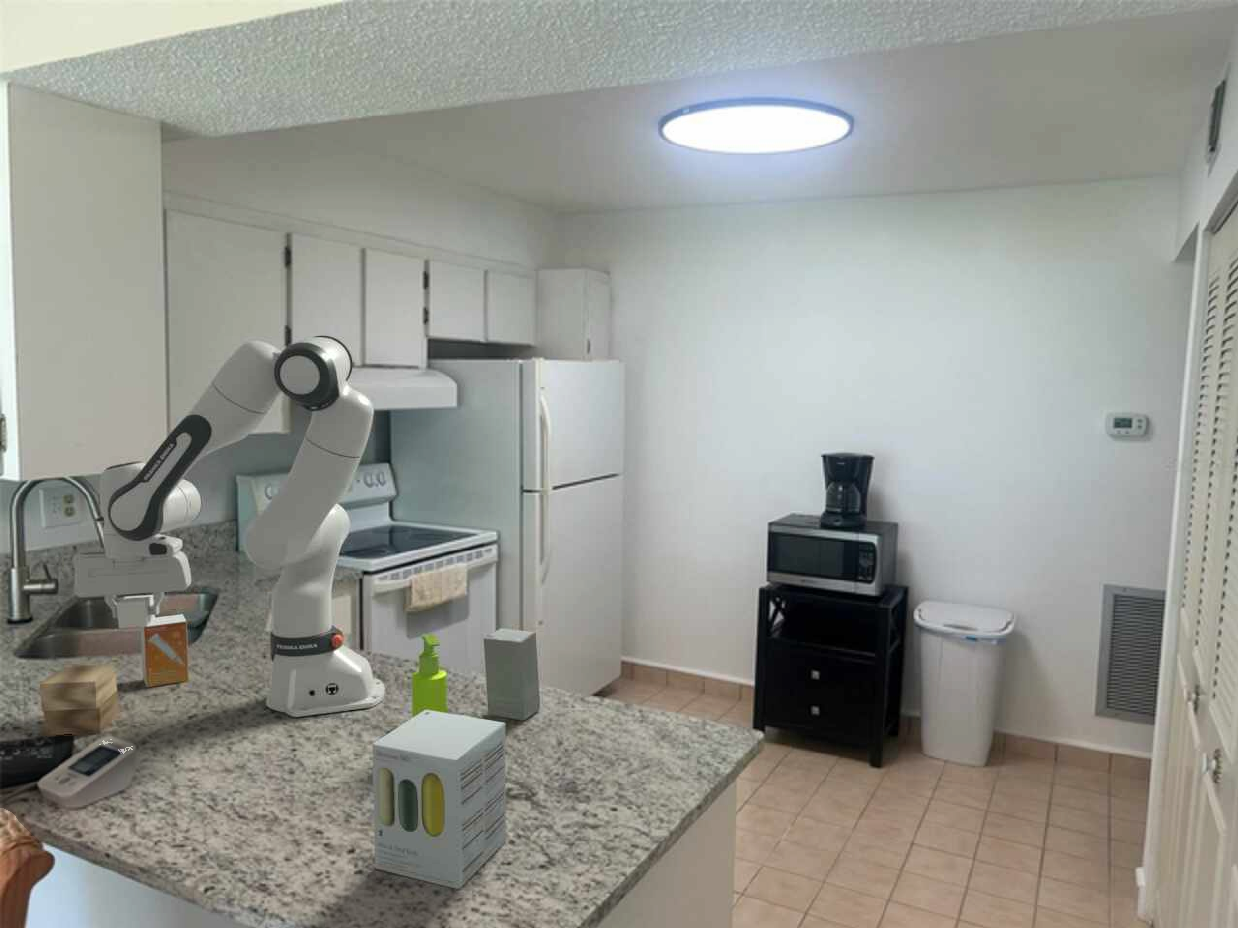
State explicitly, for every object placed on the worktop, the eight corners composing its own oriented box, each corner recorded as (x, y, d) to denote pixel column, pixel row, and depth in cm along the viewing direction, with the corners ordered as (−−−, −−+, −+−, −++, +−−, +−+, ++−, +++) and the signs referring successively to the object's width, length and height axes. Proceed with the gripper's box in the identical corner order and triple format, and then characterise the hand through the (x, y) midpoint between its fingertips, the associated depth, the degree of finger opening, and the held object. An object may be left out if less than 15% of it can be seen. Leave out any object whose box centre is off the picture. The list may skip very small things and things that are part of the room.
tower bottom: (118, 714, 170) (117, 689, 169) (100, 734, 161) (99, 707, 161) (66, 717, 168) (65, 692, 168) (45, 737, 159) (44, 710, 159)
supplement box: (371, 869, 119) (368, 743, 117) (427, 822, 131) (425, 707, 129) (459, 891, 114) (457, 760, 112) (508, 840, 126) (507, 721, 124)
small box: (146, 688, 183) (143, 626, 181) (142, 679, 188) (139, 618, 187) (189, 681, 187) (187, 620, 186) (185, 672, 193) (182, 613, 191)
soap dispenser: (419, 758, 152) (417, 644, 149) (409, 743, 158) (407, 632, 156) (453, 751, 154) (452, 639, 152) (441, 736, 161) (440, 628, 158)
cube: (155, 619, 178) (153, 594, 177) (146, 626, 173) (144, 601, 172) (127, 621, 177) (125, 596, 176) (118, 628, 172) (116, 602, 171)
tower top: (116, 690, 169) (115, 664, 168) (96, 708, 160) (95, 681, 160) (65, 692, 168) (63, 666, 167) (42, 710, 159) (40, 683, 158)
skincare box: (540, 710, 173) (540, 630, 171) (521, 723, 167) (521, 641, 165) (503, 703, 177) (502, 625, 175) (483, 716, 170) (482, 635, 168)
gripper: (64, 552, 168) (71, 624, 170) (181, 545, 172) (187, 615, 173) (78, 545, 174) (84, 615, 176) (190, 539, 178) (196, 607, 180)
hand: (136, 615), depth 175 cm, fingers closed on cube, 5 cm apart
